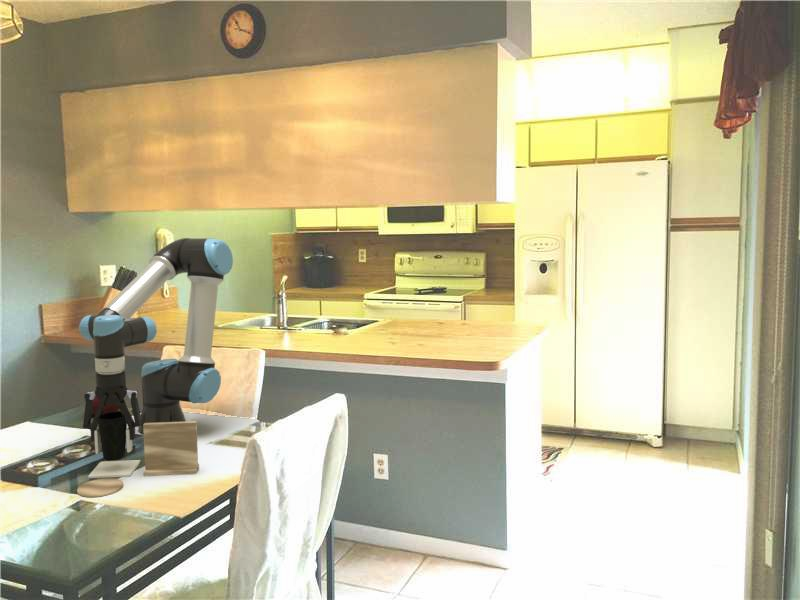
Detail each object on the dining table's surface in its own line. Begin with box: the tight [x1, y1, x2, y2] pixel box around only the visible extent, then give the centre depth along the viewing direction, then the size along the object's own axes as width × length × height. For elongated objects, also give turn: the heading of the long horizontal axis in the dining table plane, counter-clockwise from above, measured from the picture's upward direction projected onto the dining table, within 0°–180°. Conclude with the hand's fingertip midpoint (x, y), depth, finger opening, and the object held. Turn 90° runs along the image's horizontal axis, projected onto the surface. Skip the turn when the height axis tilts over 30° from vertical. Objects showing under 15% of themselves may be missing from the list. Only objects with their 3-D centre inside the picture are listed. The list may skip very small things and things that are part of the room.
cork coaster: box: [76, 477, 124, 498], centre depth 171 cm, size 11×11×1 cm
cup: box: [97, 411, 128, 461], centre depth 183 cm, size 8×8×12 cm
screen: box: [143, 420, 200, 477], centre depth 183 cm, size 5×14×14 cm, turn 98°
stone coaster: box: [87, 459, 141, 479], centre depth 184 cm, size 11×11×1 cm
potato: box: [92, 395, 120, 415], centre depth 236 cm, size 12×11×8 cm
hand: (114, 451), depth 184 cm, fingers closed on cup, 8 cm apart
